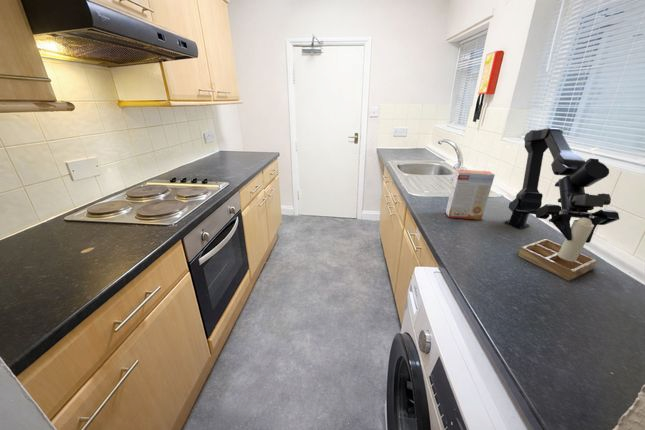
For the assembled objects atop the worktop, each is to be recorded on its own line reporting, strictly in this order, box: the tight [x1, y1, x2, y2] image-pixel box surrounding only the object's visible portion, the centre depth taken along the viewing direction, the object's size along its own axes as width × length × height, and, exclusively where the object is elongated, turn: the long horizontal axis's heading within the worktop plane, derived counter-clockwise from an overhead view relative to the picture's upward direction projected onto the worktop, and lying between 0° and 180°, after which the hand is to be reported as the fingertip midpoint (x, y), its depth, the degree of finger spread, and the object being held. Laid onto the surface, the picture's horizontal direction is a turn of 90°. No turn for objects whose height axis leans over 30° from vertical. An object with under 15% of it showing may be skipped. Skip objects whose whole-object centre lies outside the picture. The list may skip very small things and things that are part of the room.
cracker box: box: [445, 168, 496, 221], centre depth 115 cm, size 14×6×21 cm, turn 80°
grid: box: [517, 238, 598, 282], centre depth 88 cm, size 15×15×3 cm
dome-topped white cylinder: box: [558, 218, 594, 261], centre depth 79 cm, size 4×4×14 cm
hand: (578, 241), depth 78 cm, fingers closed on dome-topped white cylinder, 4 cm apart
